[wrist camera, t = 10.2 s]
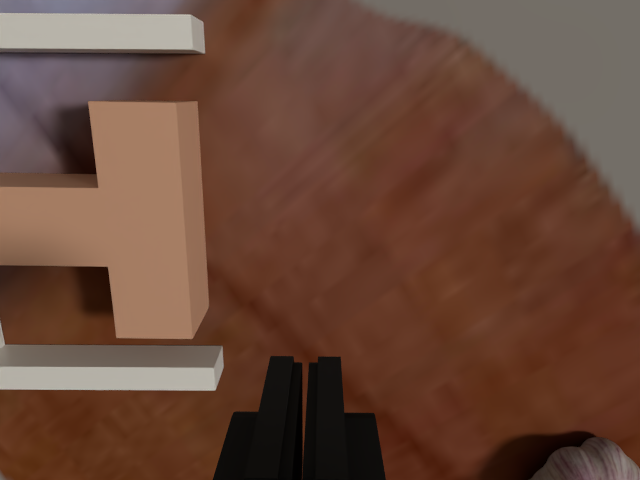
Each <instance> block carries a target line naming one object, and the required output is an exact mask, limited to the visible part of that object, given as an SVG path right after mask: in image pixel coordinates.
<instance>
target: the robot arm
mask: <svg viewBox="0 0 640 480" xmlns="http://www.w3.org/2000/svg"><path fill="white" fill-rule="evenodd" d="M302 464H303V478H302ZM213 480H386V478H385V472H384V466H383V460H382V454H381V448H380V442H379V436H378V430H377V424H376V418H375V414H374V413H344V402H343V387H342V372H341V357H318V363H309V373H308V390H307V407H306V424H305V441H304V457H303V434H302V363H299V362H294V357H293V356H271V357H270V361H269V366H268V370H267V375H266V380H265V384H264V389H263V393H262V398H261V403H260V407H259V412H234V413H233V415H232V418H231V421H230V424H229V428H228V431H227V434H226V438H225V441H224V444H223V448H222V451H221V454H220V458H219V461H218V464H217V468H216V471H215V474H214V478H213Z"/></svg>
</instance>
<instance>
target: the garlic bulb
mask: <svg viewBox="0 0 640 480" xmlns="http://www.w3.org/2000/svg"><path fill="white" fill-rule="evenodd" d="M529 480H640V469H639V467H638V466H637V465H636V464H635V463H634V461H632V460H631V459H630V458H629V457H627V456H626V455H625V454H624V453H623V451H622V450H621V448H620V447H619V446H618V445H616V444H615V443H614V442H612V441H611V440H608V439H606V438H602V437H593V438H589V439H587V440H586V441H584V442H583V444H582V445H581V447H572V446H571V447H563V448H560V449H558V450H556V451H555V452H553V453H552V454H551V455H550V457H549V458H548V460H547V462H546V464H545V465H544V466H543V467H542V468H541V469H539V470H538V471H537V472H536V473H535V474H534V475H533V477H532V478H531V479H529Z"/></svg>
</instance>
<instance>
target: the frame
mask: <svg viewBox="0 0 640 480" xmlns="http://www.w3.org/2000/svg"><path fill="white" fill-rule="evenodd" d="M0 52H40V53H184V54H205V43H204V26H203V22H202V21H200V20H199V19H197V18H195V17H194V16H192V15H175V14H35V13H0ZM223 367H224V365H223V348H222V346H161V345H5V342H4V337H3V332H2V328H1V323H0V389H40V390H216V387H217V384H218V382H219V379H220V376H221V373H222V370H223Z"/></svg>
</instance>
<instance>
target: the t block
mask: <svg viewBox="0 0 640 480" xmlns="http://www.w3.org/2000/svg"><path fill="white" fill-rule="evenodd" d="M88 105H89V113H90V121H91V130H92V138H93V146H94V155H95V163H96V171H97V174H52V173H0V265H24V266H95V267H108V271H109V279H110V287H111V296H112V304H113V312H114V320H115V329H116V337H117V338H160V339H193V337H194V335H195V333H196V331H197V329H198V327H199V325H200V323H201V321H202V320H203V318H204V316H205V314H206V312H207V310H208V308H209V297H208V280H207V262H206V244H205V227H204V209H203V192H202V174H201V156H200V139H199V121H198V104H197V101H149V100H111V101H88Z"/></svg>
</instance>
